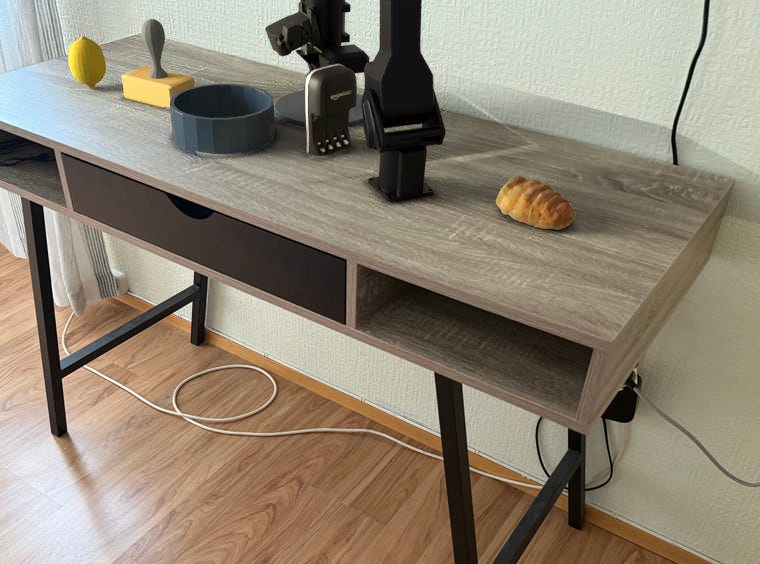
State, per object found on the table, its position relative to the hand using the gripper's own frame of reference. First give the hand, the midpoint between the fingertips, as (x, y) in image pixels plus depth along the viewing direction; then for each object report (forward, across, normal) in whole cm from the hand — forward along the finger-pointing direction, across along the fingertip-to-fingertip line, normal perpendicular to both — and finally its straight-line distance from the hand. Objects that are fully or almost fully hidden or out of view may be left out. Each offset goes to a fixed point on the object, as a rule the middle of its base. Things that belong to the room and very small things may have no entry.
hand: (324, 104), depth 124 cm
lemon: (+2, -23, -31) cm, 39 cm away
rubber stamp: (+2, -14, -22) cm, 26 cm away
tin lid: (+1, 0, 0) cm, 1 cm away
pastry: (+2, +40, +11) cm, 42 cm away
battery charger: (+2, +14, -5) cm, 15 cm away
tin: (+1, +4, -17) cm, 18 cm away
